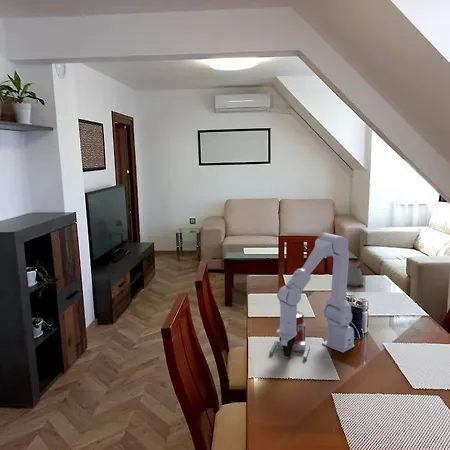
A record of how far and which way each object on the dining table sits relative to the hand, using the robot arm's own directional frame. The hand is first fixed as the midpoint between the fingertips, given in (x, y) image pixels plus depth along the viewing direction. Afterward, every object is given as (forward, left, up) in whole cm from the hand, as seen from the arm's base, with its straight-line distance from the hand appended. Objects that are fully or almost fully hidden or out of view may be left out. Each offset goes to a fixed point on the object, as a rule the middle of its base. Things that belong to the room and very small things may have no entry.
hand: (287, 356), depth 147 cm
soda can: (+7, -11, -1) cm, 13 cm away
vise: (+5, -9, -1) cm, 10 cm away
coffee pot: (+29, -90, -2) cm, 94 cm away
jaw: (+3, -4, -1) cm, 5 cm away
